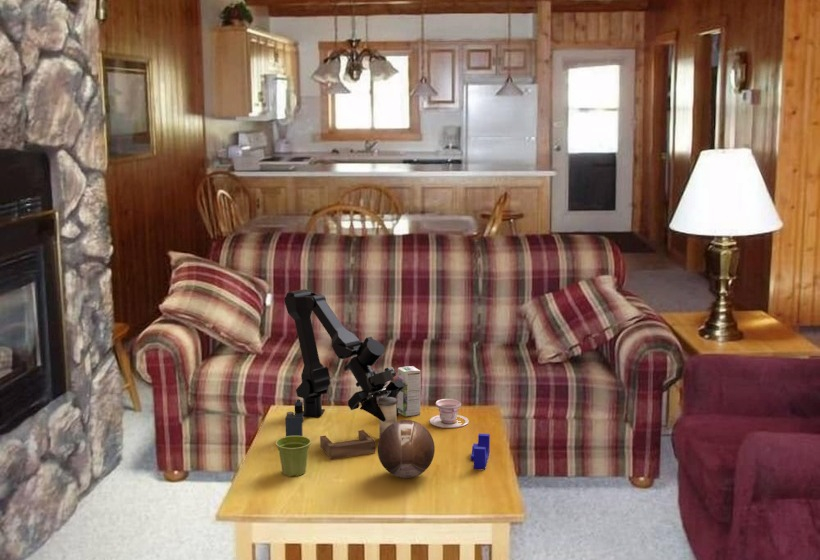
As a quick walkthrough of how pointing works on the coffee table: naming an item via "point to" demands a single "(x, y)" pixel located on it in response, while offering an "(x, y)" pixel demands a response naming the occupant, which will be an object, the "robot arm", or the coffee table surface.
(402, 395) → the syrup box
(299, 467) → the plant pot
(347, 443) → the cradle
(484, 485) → the coffee table surface
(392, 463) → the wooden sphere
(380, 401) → the lidded tumbler
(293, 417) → the vaping device
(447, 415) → the teacup
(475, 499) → the coffee table surface
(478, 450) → the blue stepped block
